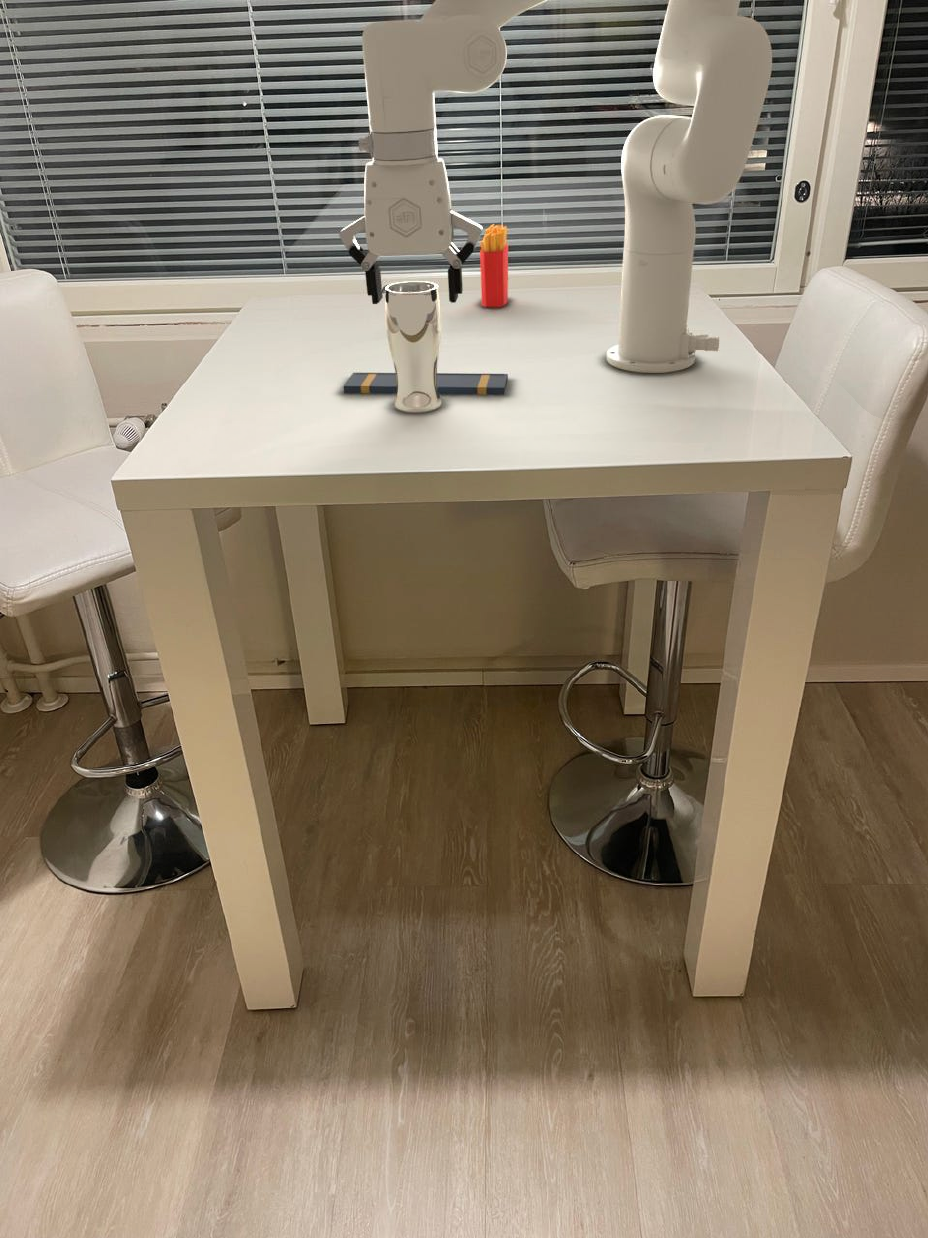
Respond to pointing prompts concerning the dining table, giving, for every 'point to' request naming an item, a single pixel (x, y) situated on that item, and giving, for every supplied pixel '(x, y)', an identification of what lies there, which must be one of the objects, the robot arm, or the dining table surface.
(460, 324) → the dining table surface
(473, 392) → the blue striped flat box
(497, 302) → the french fries
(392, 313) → the beer glass
